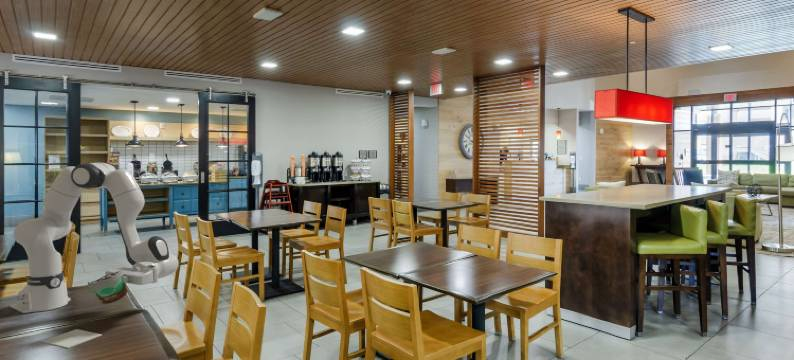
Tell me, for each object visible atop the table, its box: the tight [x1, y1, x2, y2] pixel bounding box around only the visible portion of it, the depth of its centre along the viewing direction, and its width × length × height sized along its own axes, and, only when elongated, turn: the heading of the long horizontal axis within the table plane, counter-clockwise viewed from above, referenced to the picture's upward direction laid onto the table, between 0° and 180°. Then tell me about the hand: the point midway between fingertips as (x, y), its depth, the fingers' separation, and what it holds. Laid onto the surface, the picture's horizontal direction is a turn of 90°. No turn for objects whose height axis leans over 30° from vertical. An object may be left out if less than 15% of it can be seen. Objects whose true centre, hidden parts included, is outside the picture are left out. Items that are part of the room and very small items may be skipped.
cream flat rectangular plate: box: [41, 328, 103, 349], centre depth 164 cm, size 14×12×1 cm
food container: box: [87, 267, 128, 305], centre depth 175 cm, size 12×6×10 cm, turn 124°
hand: (110, 280), depth 177 cm, fingers closed on food container
